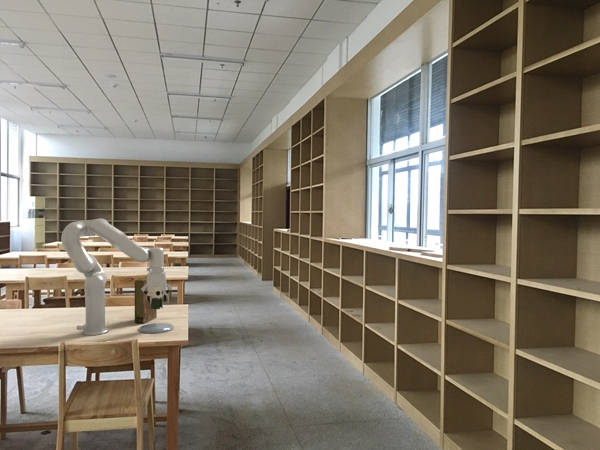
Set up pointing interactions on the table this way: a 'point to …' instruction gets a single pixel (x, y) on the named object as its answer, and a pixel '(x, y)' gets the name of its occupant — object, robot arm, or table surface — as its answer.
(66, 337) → the table surface
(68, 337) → the table surface
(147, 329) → the saucer
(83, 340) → the table surface
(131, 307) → the table surface
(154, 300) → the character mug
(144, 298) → the book
